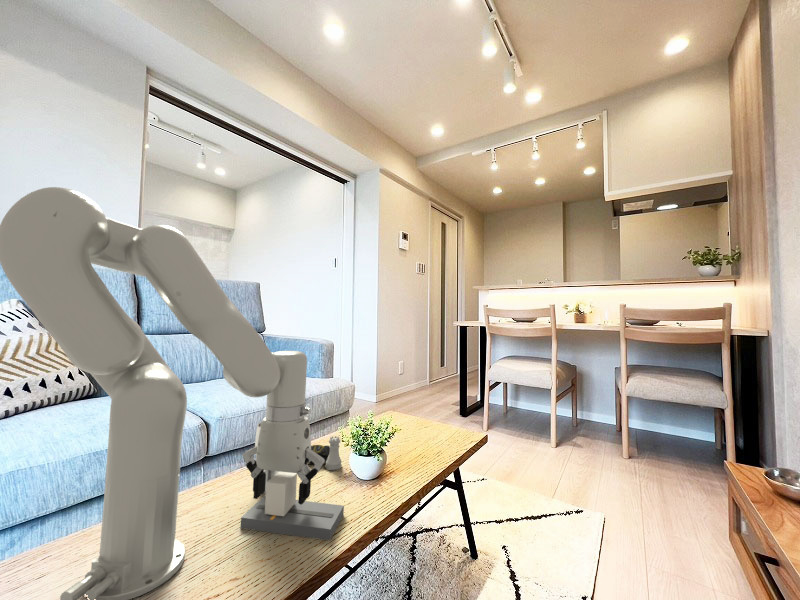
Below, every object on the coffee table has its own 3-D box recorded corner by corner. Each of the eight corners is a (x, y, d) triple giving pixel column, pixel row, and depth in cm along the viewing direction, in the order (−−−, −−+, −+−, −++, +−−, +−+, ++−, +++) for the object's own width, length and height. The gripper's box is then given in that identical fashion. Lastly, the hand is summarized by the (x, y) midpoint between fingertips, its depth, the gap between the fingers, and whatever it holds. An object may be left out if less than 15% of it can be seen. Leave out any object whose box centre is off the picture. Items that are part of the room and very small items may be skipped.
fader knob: (283, 516, 65) (285, 484, 65) (264, 513, 65) (266, 482, 66) (295, 502, 70) (297, 472, 70) (277, 500, 70) (279, 471, 71)
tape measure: (326, 467, 92) (327, 453, 92) (301, 466, 92) (302, 452, 92) (330, 457, 99) (331, 444, 99) (307, 456, 98) (308, 443, 99)
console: (329, 540, 62) (330, 528, 62) (240, 528, 64) (241, 517, 64) (343, 515, 70) (343, 505, 70) (263, 505, 72) (263, 495, 72)
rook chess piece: (337, 472, 89) (339, 441, 89) (322, 469, 90) (323, 439, 90) (344, 465, 93) (345, 435, 94) (329, 463, 94) (330, 434, 95)
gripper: (332, 410, 71) (328, 493, 70) (257, 404, 74) (252, 484, 73) (318, 420, 64) (314, 513, 63) (235, 413, 66) (230, 503, 65)
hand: (281, 498), depth 68 cm, fingers open, 9 cm apart
